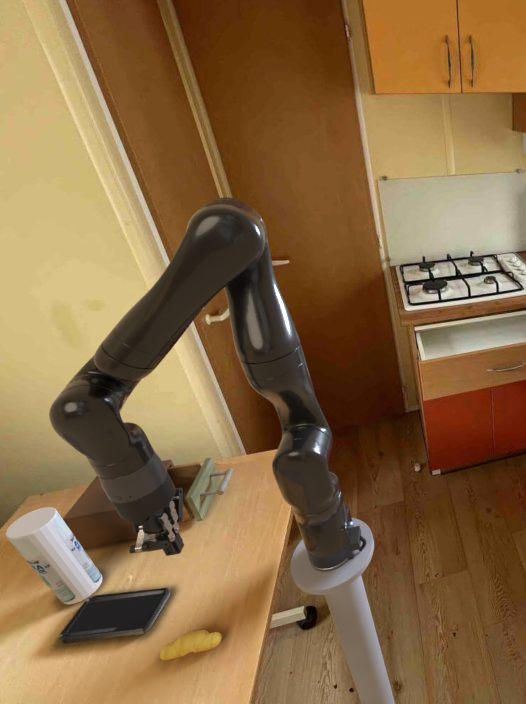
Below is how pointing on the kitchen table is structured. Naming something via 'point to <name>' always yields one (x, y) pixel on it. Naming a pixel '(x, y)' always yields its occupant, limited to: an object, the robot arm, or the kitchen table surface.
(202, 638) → the yellow cheese puff
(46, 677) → the kitchen table surface
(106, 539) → the cabinet
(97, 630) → the phone
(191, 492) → the drawer
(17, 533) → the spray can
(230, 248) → the robot arm
